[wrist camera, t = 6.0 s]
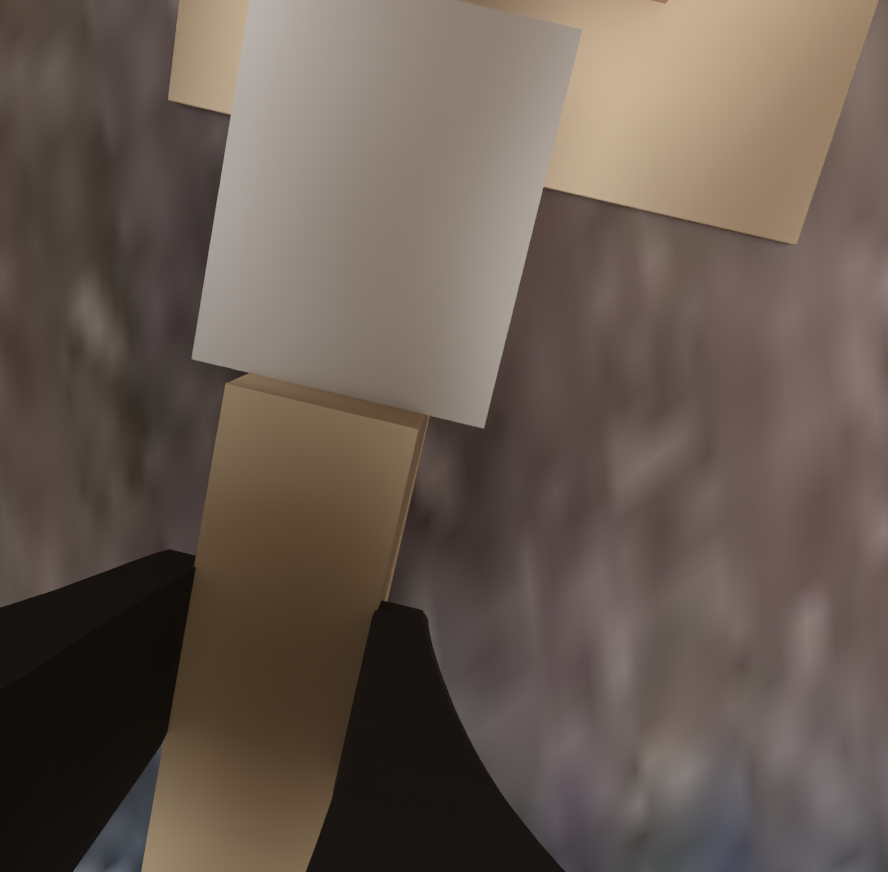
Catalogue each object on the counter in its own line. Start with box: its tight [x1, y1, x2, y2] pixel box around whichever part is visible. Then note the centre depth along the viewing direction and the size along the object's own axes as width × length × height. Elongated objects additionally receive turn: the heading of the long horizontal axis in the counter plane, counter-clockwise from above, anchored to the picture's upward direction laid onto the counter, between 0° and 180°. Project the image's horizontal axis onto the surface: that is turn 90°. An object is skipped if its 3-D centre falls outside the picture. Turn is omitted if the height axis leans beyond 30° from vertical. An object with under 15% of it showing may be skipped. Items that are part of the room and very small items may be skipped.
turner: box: [141, 0, 582, 872], centre depth 12 cm, size 4×14×3 cm, turn 167°
